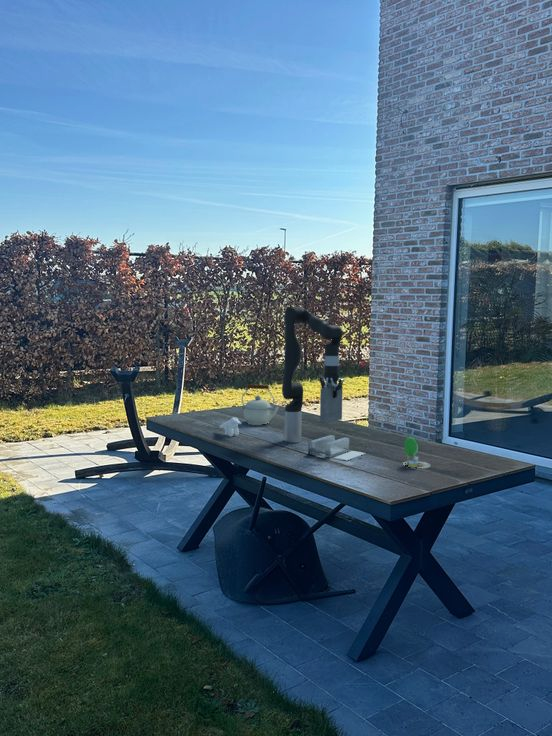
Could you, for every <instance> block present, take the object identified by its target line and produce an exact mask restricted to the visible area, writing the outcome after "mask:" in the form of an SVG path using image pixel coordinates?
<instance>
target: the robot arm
mask: <svg viewBox="0 0 552 736" xmlns="http://www.w3.org/2000/svg"><path fill="white" fill-rule="evenodd" d="M296 324H307V325H308V327H309V329H311V330H312V331H313V332H316V333H318V334H319V335H320V336H321V337H322V338H323V339H325V340H331V341H330V342H329V343H327V344H325V347H324V359H323V360H324V362H323V363H324V365H323V367H324V370H323V371H324V373H323V374H324V375H323V376H320V377H319V382H320V383H319V384H320V387H321V388H325V387H328V383H332V386H333V389H334V391H333V398H337V392H338V390H341V388H342V386H343V384H344V381H345V380H344V378H341V377H340V376H339V374H340V357H339V356H340V355H339V353H340V346H341V341H342V337H343V329H342V327H341V326H340V325H329V323H328V322H327V321H325V320H323V319H321V318H319V317H317V316H315V315H314V314H312V313H311V312H310V311H308V310H307V309H306V308H304V307H303V306H288V307H286V309H285V311H284V328H285V329H284V330H285V331H284V332H285V333H284V334H285V335H284V336H285V342H284V366H283V367H284V369H283V377H282V385H281V386H282V387H281V393H282V398H283V399H285V400H291V402H289V403H288V404H286V405H284V406H285V407H284V423H283V428H282V429H283V435H282V436H283V437H282V438H283V441H285V443H291V444H292V443H293V444H294V443H295V444H296V443H300V442H301V441H302V409H303V401H304V400H303V399H304V387H303V384H302V383H301V382H299V381H293V377H294V373H295V371H296V369H297V367H298V366H299V365H300V363H301V362H302V361H301V360H302V345H301V343H300V341H299V338H298V337H297V334H296V330H295V327H296V326H295V325H296Z"/></svg>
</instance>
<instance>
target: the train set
mask: <svg viewBox="0 0 552 736" xmlns="http://www.w3.org/2000/svg"><path fill="white" fill-rule="evenodd" d="M403 445H404V446H403V450H404V452H405V454H406V457H407V458H406V461H404V462H403V464H405V463H406V464H405V465H408V467H411V469H415V467H417V468H422V469H428V468H430V467H431V464H430V463H428V462H425V461H419V456H416V454H417V453H418V451H419V446H418V443H417V441H416V439H415V438H414V437H412V436H410V437H407V438H406V440H405V441H404V444H403ZM408 467H407V468H408Z"/></svg>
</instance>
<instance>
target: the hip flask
mask: <svg viewBox="0 0 552 736" xmlns="http://www.w3.org/2000/svg"><path fill="white" fill-rule="evenodd" d="M343 389H344V388H343V385H342V388H341V390H338V392H337V398H333V391H334V389H333V386H332V383H328V387H325V388H322V387H321V388H320V398H319V400H320V403H319V404H320V408H319V409H320V410H319V412H320V413H319V423H320V424H327V423H330V422H335V421H340V420H343Z"/></svg>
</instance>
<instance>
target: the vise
mask: <svg viewBox="0 0 552 736" xmlns="http://www.w3.org/2000/svg"><path fill="white" fill-rule="evenodd" d="M335 438H336V437H335V435H332V434H330V435H326V436H322V437H319V438H316V439H313V440H310V442H308V445H307V449H308V450H307V451H308V452H307V454H308V455H312V454H314V455H313V456H317V455H316V454H318V455H320V454H319V453H321V454H323V455H324V456H325V458H327V457H329V458H328V459H331V457H332V458H334V456H335V457H337V456H339V455H342V453H343V454H345V452H346V453H348V452H347V451H349V452H350V438H349V437H345V436H344V437H342V438H339V439H335Z"/></svg>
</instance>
